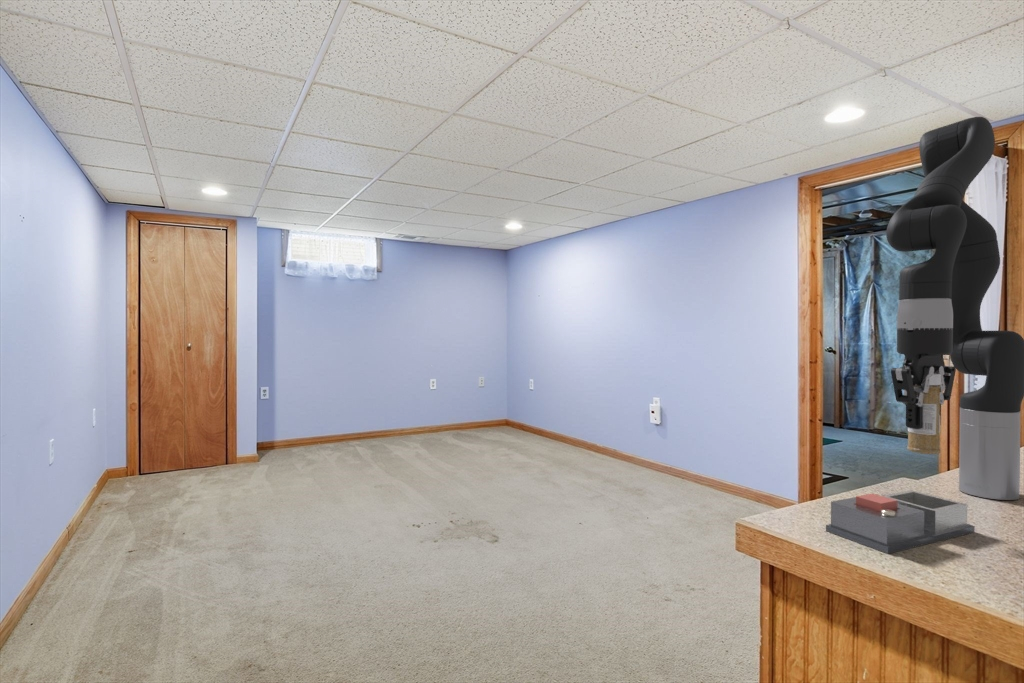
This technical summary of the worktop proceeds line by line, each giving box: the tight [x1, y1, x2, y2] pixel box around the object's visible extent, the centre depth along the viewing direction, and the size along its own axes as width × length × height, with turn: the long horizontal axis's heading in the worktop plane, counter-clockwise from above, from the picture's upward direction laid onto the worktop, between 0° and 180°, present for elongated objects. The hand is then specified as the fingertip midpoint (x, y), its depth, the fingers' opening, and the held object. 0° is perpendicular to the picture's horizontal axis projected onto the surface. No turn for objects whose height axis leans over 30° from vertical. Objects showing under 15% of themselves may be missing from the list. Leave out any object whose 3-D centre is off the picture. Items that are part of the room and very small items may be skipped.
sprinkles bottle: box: [906, 373, 941, 455], centre depth 91 cm, size 5×5×14 cm
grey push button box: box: [825, 490, 976, 554], centre depth 89 cm, size 22×10×6 cm, turn 113°
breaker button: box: [855, 493, 897, 512], centre depth 86 cm, size 4×4×5 cm
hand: (923, 426), depth 91 cm, fingers closed on sprinkles bottle, 4 cm apart
